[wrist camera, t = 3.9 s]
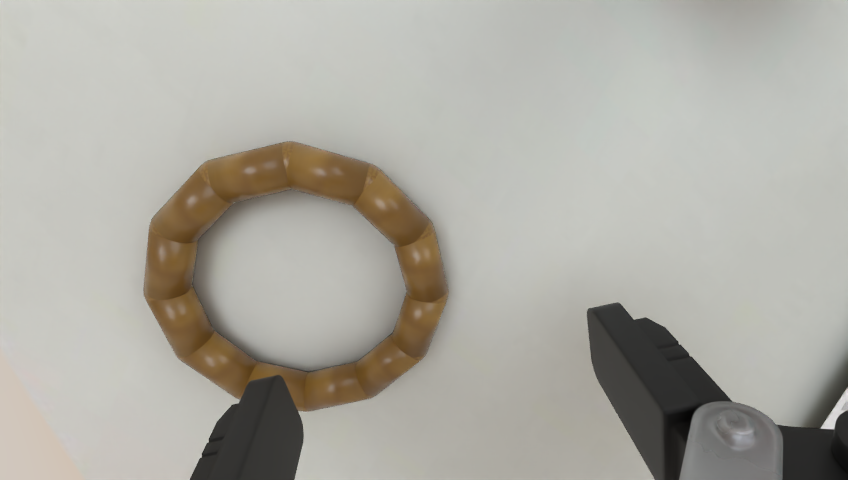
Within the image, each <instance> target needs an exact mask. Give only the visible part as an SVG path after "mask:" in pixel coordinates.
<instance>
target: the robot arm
mask: <svg viewBox="0 0 848 480" xmlns="http://www.w3.org/2000/svg"><path fill="white" fill-rule="evenodd" d="M587 320H588V330H589V341H590V351H591V359H592V364H593V368H594V371H595V374H596V377H597V379H598V381H599V383H600V385H601V386H602V388H603V390H604V392H605V393H606V395H607V397H608V399H609V400H610V402H611V404H612V406H613V407H614V409H615V411H616V413H617V414H618V416H619V418H620V419H621V421H622V423H623V425H624V426H625V428H626V430H627V432H628V433H629V435H630V437H631V439H632V440H633V442H634V444H635V446H636V447H637V449H638V451H639V452H640V454H641V456H642V458H643V459H644V461H645V463H646V465H647V466H648V468H649V470H650V472H651V473H652V475H653V477H654V479H655V480H848V410H847V411H845V412H843V413H842V414H840V415H839V417H838V418H837V420H836V423H835V428H834V429H818V428H801V427H788V426H781V425H776V424H775V423H774V422H773V420H771V419H770V418H769V417H768V416H767V415H765V414H763V413H762V412H760V411H758V410H756V409H755V408H752V407H750V406H747V405H744V404H740V403H736V402H732V401H731V400H730V398H729V397H728V396H727V395H726V394H725V393H724V392H723V391H722V390H721V389H720V387H719V386H718V385H717V384H716V383H715V382H714V381H713V380H712V379H711V378H710V376H709V375H708V374H707V373H706V372H705V371H704V370H703V369H702V368H701V367H700V365H699V364H698V363H697V362H696V361H695V360H694V359H693V358H692V357H690V356H689V353H688V352H687V351H686V350H685V349H684V348H683V347H682V346H681V345H679V344H678V341H677V340H676V339H675V338H674V337H673V336H672V335H671V333H670V332H669V331H668V330H667V329H666V328H665V327H663V326H661V325H659V324H657V323H655V322H653V321H652V320H650V319H648V318H641V319H636V320H633V318H632V317H631V316H630V315H629V313H628V312H627V311H626V310H625V309H624V307H623V306H622V305H621V304H620V303H618V302H617V303H612V304H608V305H603V306H599V307H594V308H589V309H588V311H587ZM303 436H304V434H303V424H302V420H301V417H300V415H299V413H298V410H297V408H296V406H295V403H294V401H293V399H292V397H291V394H290V392H289V390H288V388H287V385H286V383H285V381H284V379H283V377H282V376H280V375H275V376H270V377H265V378H261V379H256V380H251V381H249V383H248V384H247V386H246V388H245V390H244V393H243V395H242V397H241V400H240V402H239V404H234V405H231V407H230V408H229V409H228V410H227V411H226V412H225V413H224V415H223V416H222V417H221V418H220V419H219V420H218V421H217V423H216V425H215V427H214V429H213V432H212V434H211V436H210V438H209V443H207V444H206V446H205V449H204V451H203V453H202V458H200V459H199V461H198V463H197V466H196V468H195V470H194V472H193V474H192V476H191V478H190V480H294V479H295V474H296V470H297V466H298V462H299V457H300V453H301V449H302V445H303Z"/></svg>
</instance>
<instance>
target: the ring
mask: <svg viewBox="0 0 848 480" xmlns="http://www.w3.org/2000/svg"><path fill="white" fill-rule="evenodd" d="M290 189H293V190H297V191H300V192H304V193H308V194H311V195H315V196H319V197H322V198H326V199H330V200H333V201H337V202H341V203H344V204H348V205H352V206H353V207H354V208H355V209H356V210H358V211H359V212H360V213H361V214H362V215H363V216H364V217H365V218H366V219H367V220H368V221H369V222H370V223H371V224H372V225H373V226H374V227H376V228H377V229H378V230H379V231H380V232H381V233H382V234H383V235H384V236H385V237H386V238H387V239H388V240H389V241H390V242H391V243H392V244H394V246H395V250H396V253H397V257H398V261H399V264H400V268H401V272H402V275H403V279H404V283H405V286H406V290H407V293H406V296H405V299H404V302H403V305H402V308H401V311H400V314H399V316H398V319H397V322H396V325H395V328H394V331H393V333H392V334H391V335H390V336H388V337H387V338H386V339H385V340H383V341H382V342H381V343H380V344H379V345H377V346H376V347H375V348H374V349H372V350H371V351H370V352H369V353H368V354H366V355H365V356H364V357H363V358H361V359H360V360H359V361H358V362H353V363H349V364H344V365H339V366H335V367H330V368H326V369H321V370H316V371H312V372H305V371H301V370H296V369H291V368H286V367H281V366H277V365H272V364H267V363H262V362H257V361H255V360H254V359H253V358H251V357H250V356H249V355H247V354H246V353H244V352H243V351H242V350H240V349H239V348H238V347H236V346H235V345H233V344H232V343H231V342H229V341H228V340H227V339H225V338H224V337H222V336H221V335H220V334H218V333H217V332H216V331H214V330H213V328H212V326H211V324H210V322H209V320H208V317H207V315H206V313H205V311H204V309H203V307H202V305H201V303H200V301H199V299H198V297H197V295H196V293H195V291H194V289H193V287H192V281H193V274H194V267H195V260H196V253H197V245H198V239H199V238H200V237H201V236H202V235H203V234H204V233H205V232H206V231H207V230H208V229H209V228H210V227H211V226H212V225H213V223H214V222H215V221H216V220H217V219H218V218H219V217H220V216H221V215H222V214H223V213H224V212H225V211H226V210H227V209H228V208H229V207H230V206H231V205H232V204H233V203H234V202H239V201H243V200H247V199H252V198H256V197H260V196H265V195H269V194H273V193H277V192H282V191H286V190H290ZM143 291H144V297H145V299H146V301H147V303H148V305H149V307H150V308H151V310H152V312H153V314H154V316H155V318H156V320H157V321H158V323H159V325H160V327H161V329H162V331H163V332H164V334H165V336H166V338H167V340H168V342H169V344H170V345H171V347H172V349H173V351H174V353H175V355H176V356H177V357H178V358H179V359H180V360H181V361H182V362H184V363H185V364H187V365H188V366H190V367H191V368H193V369H194V370H196V371H197V372H198V373H200V374H201V375H203V376H204V377H206V378H207V379H209V380H210V381H212V382H213V383H215V384H216V385H218V386H219V387H220V388H222V389H223V390H225V391H226V392H228V393H229V394H231V395H232V396H234V397H235V398H238V399H241V397H242V395H243V393H244V390H245V388H246V386H247V384H248V383H249V381H251V380H256V379H261V378H265V377H270V376H275V375H280V376H282V377H283V379H284V381H285V383H286V385H287V388H288V390H289V392H290V394H291V397H292V399H293V401H294V403H295V406H296V408H297V410H298V411H303V412H308V411H314V410H318V409H323V408H328V407H332V406H337V405H342V404H346V403H351V402H356V401H360V400H365V399H369V398H372V397H374V396H376V395H377V394H379V393H380V392H381V391H382V390H384V389H385V388H386V387H387V386H389V385H390V384H391V383H393V382H394V381H395V380H396V379H398V378H399V377H400V376H401V375H403V374H404V373H405V372H407V371H408V370H409V369H410V368H412V367H413V366H414V365H415V364H417V363H418V362H419V361H421V360H422V359H423V358H424V357H425V355H426V353H427V351H428V349H429V346H430V343H431V341H432V338H433V335H434V333H435V330H436V327H437V325H438V322H439V320H440V317H441V314H442V312H443V309H444V306H445V304H446V301H447V298H448V286H447V281H446V277H445V273H444V268H443V264H442V260H441V256H440V251H439V247H438V243H437V238H436V234H435V230H434V226H433V224H432V222H431V221H430V220H429V218H428V217H427V216H426V215H425V214H424V213H423V212H422V211H421V210H420V209H419V208H418V207H417V206H416V205H415V204H414V203H413V202H412V201H411V200H410V199H409V198H408V197H407V196H406V195H405V194H404V193H403V192H402V191H401V190H400V189H399V188H398V187H397V186H396V185H395V184H394V183H393V182H392V181H391V180H390V179H389V178H388V177H387V176H386V175H385V174H384V173H383V172H382V171H381V170H380V169H379V168H377V167H376V166H374V165H372V164H370V163H366V162H363V161H359V160H356V159H352V158H349V157H345V156H342V155H339V154H335V153H332V152H328V151H325V150H321V149H318V148H314V147H311V146H307V145H304V144H301V143H297V142H283V143H279V144H275V145H270V146H266V147H262V148H258V149H254V150H249V151H245V152H241V153H237V154H232V155H228V156H224V157H220V158H216V159H212V160H209V161H207V162H205V163H203V164H202V165H201V166H200V167H199V168H198V169H197V170H196V171H195V172H194V174H193V175H192V176H191V177H190V178H189V179H188V180H187V181H186V182H185V183H184V184H183V185H182V186H181V188H180V189H179V190H178V191H177V192H176V193H175V194H174V195H173V196H172V197H171V198H170V199H169V200H168V202H167V203H166V204H165V205H164V206H163V207H162V208H161V209H160V210H159V211H158V212H157V213H156V214H155V216H154V217H153V218H152V220H151V223H150V227H149V236H148V247H147V257H146V267H145V278H144V288H143Z"/></svg>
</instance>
